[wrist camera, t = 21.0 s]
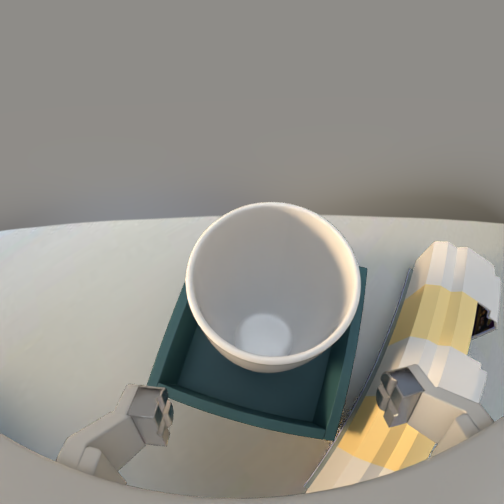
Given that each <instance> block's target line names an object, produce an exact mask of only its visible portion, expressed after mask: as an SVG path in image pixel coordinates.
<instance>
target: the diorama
mask: <svg viewBox="0 0 504 504" xmlns="http://www.w3.org/2000/svg"><path fill="white" fill-rule="evenodd" d="M500 299H501V279H500V278H499V277H498V276H497V275H495V266H494V265H493V264H491V263H490V262H489V261H487V260H486V259H485V258H483V257H482V256H480V255H479V254H478V253H476V252H475V251H473V250H472V249H471V248H469V247H460V248H457V247H456V246H454V245H453V244H451V243H450V242H443V241H434V242H433V243H432V245H431V246H430V247H429V248H428V249H427V250H426V251H425V252H424V253H423V254H422V255H421V256H420V257H419V258H418V259H417V260H416V262H415V266H414V269H411V268H410V269H409V271H408V275H407V278H406V282H405V285H404V288H403V291H402V294H401V297H400V301H399V303H398V306H397V309H396V312H395V315H394V318H393V320H392V323H391V326H390V328H389V331H388V334H387V336H386V339H385V341H384V344H383V346H382V349H381V351H380V353H379V356H378V358H377V360H376V362H375V365H374V367H373V369H372V371H371V373H370V376H369V378H368V380H367V382H366V384H365V386H364V388H363V390H362V392H361V394H360V396H359V398H358V400H357V402H356V404H355V406H354V407H353V409H352V411H351V413H350V415H349V417H348V418H347V420H346V422H345V424H344V425H343V427H342V429H341V431H340V432H339V434H338V436H337V437H336V439H335V440H334V442H333V444H332V445H331V447H330V448H329V450H328V452H327V453H326V455H325V456H324V458H323V459H322V461H321V462H320V464H319V465H318V467H317V468H316V469H315V471H314V472H313V474H312V475H311V476H310V478H309V479H308V481H307V482H306V483H305V485H304V486H303V487H305V488H308V489H307V491H306V492H305V493H311V492H317V491H323V490H328V489H333V488H338V487H343V486H347V485H351V484H355V483H359V482H363V481H366V480H370V479H373V478H377V477H380V476H383V475H386V474H389V473H392V472H395V471H398V470H401V469H403V468H406V467H409V466H411V465H414V464H416V463H419V462H421V461H424V460H426V459H427V458H428V457H429V455H430V453H431V451H432V449H433V447H434V445H435V442H433V441H432V440H430V439H429V438H427V437H426V436H424V435H423V434H421V433H420V432H418V431H417V430H415V429H414V428H413V427H411V426H410V425H408V424H407V423H405V424H401V425H398V426H394V427H390V428H389V427H388V425H387V423H386V421H385V419H384V417H383V415H384V411H383V410H381V409H379V407H378V405H377V401H376V392H377V388H378V387H379V386H380V385H381V384H382V382H381V380H380V379H381V376H382V374H383V373H384V372H386V371H390V370H394V369H398V368H402V367H406V366H410V365H413V364H417V365H419V367H420V368H421V369H422V370H423V372H424V373H425V374H426V376H427V377H428V378H429V380H430V381H431V382H432V383H433V385H434V386H435V387H441V388H443V389H445V390H448V391H450V392H452V393H455V394H457V395H460V396H462V397H464V398H467V399H469V400H472V401H474V402H477V403H480V400H481V397H482V394H483V390H484V387H485V383H486V380H487V372H486V371H484V370H482V369H480V368H481V364H482V363H480V362H478V361H476V360H474V359H473V358H471V357H469V356H467V353H468V349H469V345H470V341H471V340H473V339H476V338H478V337H480V336H483V335H485V334H487V333H490V332H492V331H494V330H496V329H497V326H498V318H499V310H500Z"/></svg>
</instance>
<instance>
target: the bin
mask: <svg viewBox="0 0 504 504" xmlns="http://www.w3.org/2000/svg"><path fill="white" fill-rule="evenodd" d="M359 270H360V277H361V292H360V299H359V304H358V307H357V310H356V313H355V315H354V318H353V320H352V321H351V323H350V325H349V327H348V328H347V329H346V331H345V332H344V333H343V335H342V336H341V337H340V338H339V339H338V340H337V341H336V342H335V343H334V344H333V345H332V346H330V347H329V348H328V349H327V350H326V351H324V352H323V353H322V354H321V355H319V356H318V357H316V358H315V359H313V360H312V361H310V362H308V363H306V364H305V365H302V366H300V367H298V368H295V369H292V370H289V371H285V372H280V373H258V372H253V371H249V370H246V369H244V368H241V367H239V366H237V365H235V364H234V363H232V362H230V361H229V360H228V359H226V358H225V357H224V356H223V355H221V354H220V353H219V352H218V351H217V350H216V349H215V348H214V346H213V345H212V344H211V343H210V342H209V340H208V339H207V338H206V336H205V335H204V333H203V332H202V330H201V328H200V326H199V325H198V323H197V321H196V320H195V318H194V316H193V314H192V311H191V309H190V306H189V302H188V299H187V293H186V280H185V283H184V285H183V288H182V290H181V293H180V296H179V298H178V301H177V303H176V306H175V308H174V311H173V314H172V316H171V319H170V321H169V324H168V327H167V329H166V332H165V335H164V337H163V340H162V343H161V346H160V348H159V351H158V354H157V357H156V360H155V363H154V365H153V368H152V371H151V374H150V377H149V380H148V383H147V386H153V387H162V388H166V389H167V391H168V394H169V396H168V398H170V399H173V400H175V401H178V402H181V403H183V404H186V405H188V406H191V407H194V408H197V409H200V410H203V411H205V412H208V413H211V414H215V415H218V416H221V417H224V418H227V419H231V420H234V421H238V422H241V423H245V424H249V425H253V426H256V427H260V428H265V429H269V430H273V431H278V432H283V433H288V434H293V435H298V436H304V437H310V438H316V439H324V440H331V441H334V439H335V436H336V432H337V429H338V425H339V422H340V418H341V415H342V411H343V407H344V403H345V399H346V395H347V391H348V387H349V382H350V378H351V373H352V368H353V363H354V358H355V353H356V348H357V342H358V336H359V330H360V324H361V317H362V310H363V303H364V295H365V286H366V277H367V268H364V267H360V266H359Z"/></svg>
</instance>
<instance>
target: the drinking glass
mask: <svg viewBox="0 0 504 504" xmlns="http://www.w3.org/2000/svg"><path fill="white" fill-rule="evenodd" d="M360 292H361V277H360V270H359V266H358V262H357V259H356V257H355V254H354V252H353V250H352V248H351V246H350V245H349V243H348V241H347V240H346V239H345V237H344V236H343V235H342V234H341V232H340V231H339V230H338V229H337V228H336V227H335V226H334V225H333V224H331V223H330V222H329V221H328V220H326V219H325V218H323V217H322V216H320V215H319V214H316V213H315V212H313V211H311V210H309V209H306V208H303V207H300V206H297V205H293V204H288V203H281V202H262V203H255V204H250V205H246V206H243V207H240V208H237V209H235V210H233V211H231V212H229V213H227V214H225V215H224V216H222V217H220V218H219V219H218V220H216V221H215V222H214V223H213V224H211V225H210V226H209V227H208V228H207V229H206V230H205V232H204V233H203V234H202V235H201V237H200V238H199V239H198V241H197V243H196V244H195V246H194V248H193V250H192V252H191V255H190V258H189V261H188V265H187V271H186V293H187V299H188V302H189V306H190V309H191V311H192V314H193V316H194V318H195V320H196V321H197V323H198V325H199V326H200V328H201V330H202V332H203V333H204V335H205V336H206V338H207V339H208V340H209V342H210V343H211V344H212V345H213V346H214V348H215V349H216V350H217V351H218V352H219V353H220V354H221V355H223V356H224V357H225V358H226V359H228V360H229V361H230V362H232V363H234V364H235V365H237V366H239V367H241V368H244V369H246V370H249V371H253V372H258V373H280V372H285V371H289V370H292V369H295V368H298V367H300V366H302V365H305V364H306V363H308V362H310V361H312V360H313V359H315V358H316V357H318V356H319V355H321V354H322V353H323V352H324V351H326V350H327V349H328V348H329V347H330V346H332V345H333V344H334V343H335V342H336V341H337V340H338V339H339V338H340V337H341V336H342V335H343V333H344V332H345V331H346V329H347V328H348V327H349V325H350V323H351V321H352V320H353V318H354V315H355V313H356V310H357V307H358V304H359V299H360Z"/></svg>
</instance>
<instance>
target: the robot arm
mask: <svg viewBox="0 0 504 504" xmlns="http://www.w3.org/2000/svg"><path fill="white" fill-rule="evenodd" d="M380 380H381V382H382V384H381V385H380V386H379V387H378V388H377V392H376V401H377V405H378V407H379V409H381V410H383V411H384V415H383V417H384V419H385V421H386V423H387V425H388V427H389V428H390V427H394V426H398V425H401V424H405V423H407V424H408V425H410V426H411V427H413V428H414V429H415V430H417V431H418V432H420V433H421V434H423V435H424V436H426V437H427V438H429V439H430V440H432V441H433V442H435V443H436V444H438V445H437V446H436V448H435V449H434V450H433V452H432V453H431V457H430V458H428V459H426V460H424V461H421V462H419V463H416V464H414V465H411V466H409V467H406V468H403V469H401V470H398V471H395V472H392V473H389V474H386V475H383V476H380V477H377V478H373V479H370V480H366V481H363V482H359V483H355V484H351V485H347V486H343V487H338V488H333V489H328V490H323V491H317V492H311V493H304V494H296V495H288V496H277V497H262V498H213V497H198V496H187V495H179V494H171V493H164V492H158V491H152V490H147V489H142V488H137V487H133V486H128V485H126V484H127V482H126V481H125V480H124V478H123V477H122V476H121V475H120V474H119V473H118V471H119V470H120V469H121V468H122V467H123V466H124V465H125V464H126V463H127V462H129V461H130V460H131V459H132V458H133V457H134V456H135V455H136V454H137V453H138V452H139V451H140V450H141V449H143V448H144V447H145V446H146V445H145V444H148V445H156V446H166V447H167V444H168V440H169V436H170V432H169V430H168V428H169V427H170V426H171V425H172V423H173V414H174V412H173V406H172V403H171V402H170V401H169V400H168V396H169V394H168V391H167V389H166V388H162V387H153V386H144V385H135V384H128V385H126V387H125V389H124V391H123V393H122V395H121V397H120V400H119V402H118V404H117V406H116V408H115V410H114V412H109V413H108V414H106V415H104V416H103V417H101V418H100V419H98V420H96V421H95V422H93V423H92V424H90V425H88V426H87V427H85V428H83V429H82V430H80V431H78V432H77V433H75V434H73V435H71V436H70V437H68V438H67V439H66V441H65V443H64V445H63V447H62V449H61V451H60V453H59V455H58V457H57V459H56V461H53V460H51V459H49V458H46V457H44V456H42V455H40V454H38V453H36V452H34V451H32V450H30V449H28V448H26V447H24V446H22V445H20V444H19V443H17V442H15V441H13V440H11V439H10V438H8V437H6V436H5V435H3V434H1V433H0V504H504V416H503V417H501V418H500V419H498V420H497V421H495V422H494V421H493V419H492V418H491V417H490V415H489V414H488V413H487V412H486V410H485V409H484V408H483V406H482V405H481V404H479V403H477V402H474V401H472V400H469V399H467V398H464V397H462V396H460V395H457V394H455V393H452V392H450V391H448V390H445V389H443V388H441V387H435V386H434V385H433V383H432V382H431V381H430V380H429V378H428V377H427V376H426V374H425V373H424V372H423V370H422V369H421V368H420V367H419V365H417V364H413V365H410V366H406V367H402V368H398V369H394V370H390V371H386V372H384V373H383V374H382V376H381V379H380Z"/></svg>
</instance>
